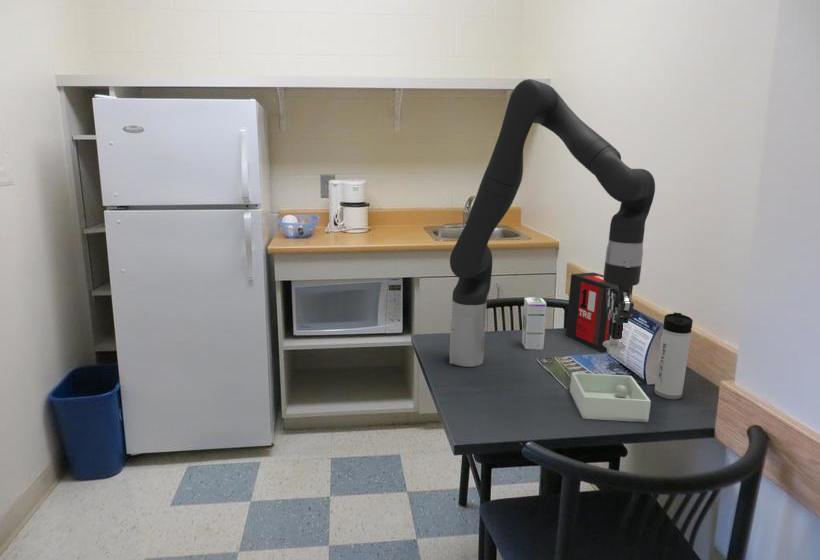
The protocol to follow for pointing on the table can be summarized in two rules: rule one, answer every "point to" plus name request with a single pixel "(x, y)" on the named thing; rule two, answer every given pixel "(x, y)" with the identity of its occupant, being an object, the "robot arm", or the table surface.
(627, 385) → the tub
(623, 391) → the pebble
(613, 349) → the screw
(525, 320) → the syrup box
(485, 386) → the table surface
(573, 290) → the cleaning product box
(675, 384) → the travel mug
